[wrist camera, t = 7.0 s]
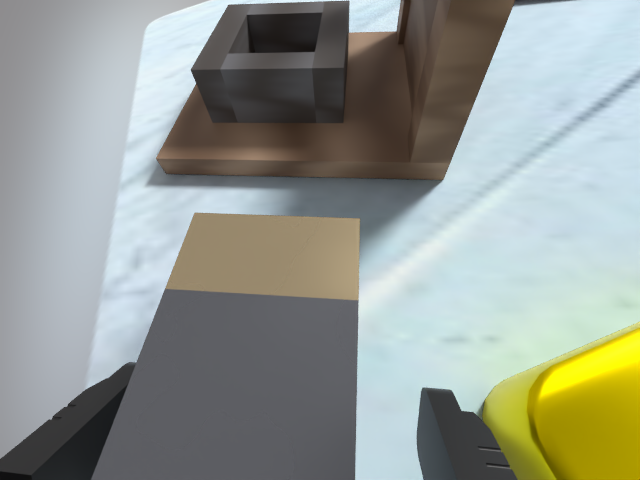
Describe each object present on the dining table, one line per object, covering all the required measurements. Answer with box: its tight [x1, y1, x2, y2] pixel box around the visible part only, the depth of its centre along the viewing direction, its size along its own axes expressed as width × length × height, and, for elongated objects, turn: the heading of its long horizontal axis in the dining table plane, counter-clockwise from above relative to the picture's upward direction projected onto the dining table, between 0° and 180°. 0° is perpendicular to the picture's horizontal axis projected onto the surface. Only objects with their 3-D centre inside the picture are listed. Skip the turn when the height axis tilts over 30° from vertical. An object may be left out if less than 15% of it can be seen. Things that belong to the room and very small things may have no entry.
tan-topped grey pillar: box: [91, 213, 360, 480], centre depth 10 cm, size 4×6×10 cm, turn 175°
